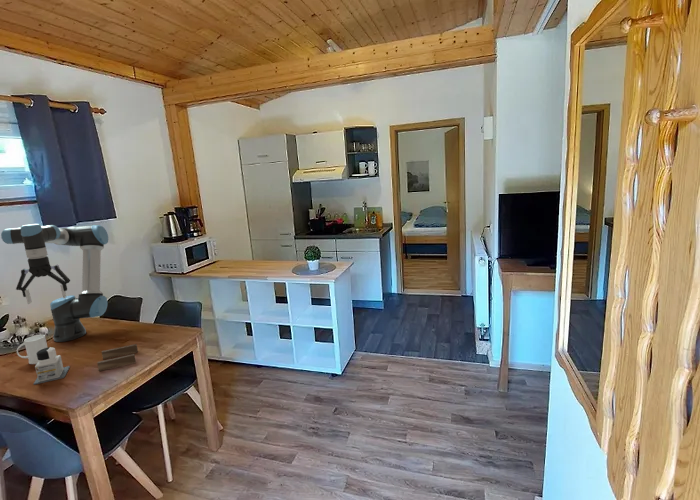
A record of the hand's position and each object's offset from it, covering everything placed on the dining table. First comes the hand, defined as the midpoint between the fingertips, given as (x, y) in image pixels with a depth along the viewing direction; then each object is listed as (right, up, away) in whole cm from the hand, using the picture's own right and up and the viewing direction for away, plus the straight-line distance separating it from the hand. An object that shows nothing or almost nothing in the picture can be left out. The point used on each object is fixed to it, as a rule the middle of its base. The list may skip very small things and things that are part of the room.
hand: (47, 300), depth 178 cm
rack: (+32, -30, +3) cm, 44 cm away
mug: (-12, -32, +8) cm, 35 cm away
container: (+9, -33, -9) cm, 36 cm away
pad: (+9, -34, -8) cm, 36 cm away
